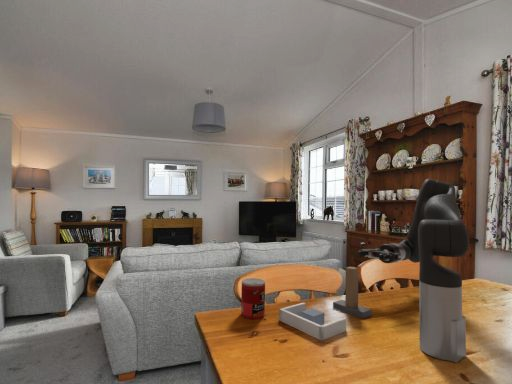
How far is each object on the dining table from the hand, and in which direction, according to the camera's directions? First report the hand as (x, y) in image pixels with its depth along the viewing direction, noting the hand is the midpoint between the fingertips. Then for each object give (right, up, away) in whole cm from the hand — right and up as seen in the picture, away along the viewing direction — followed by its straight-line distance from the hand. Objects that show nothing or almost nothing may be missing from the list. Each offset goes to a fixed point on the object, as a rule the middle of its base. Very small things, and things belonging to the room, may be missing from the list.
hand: (369, 255), depth 109 cm
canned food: (-43, -17, -12) cm, 48 cm away
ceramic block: (-25, -17, -19) cm, 36 cm away
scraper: (-9, -18, -7) cm, 21 cm away
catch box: (-25, -17, -20) cm, 36 cm away
